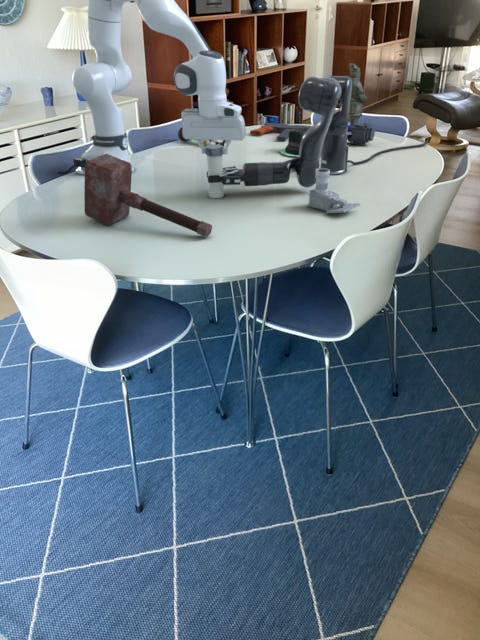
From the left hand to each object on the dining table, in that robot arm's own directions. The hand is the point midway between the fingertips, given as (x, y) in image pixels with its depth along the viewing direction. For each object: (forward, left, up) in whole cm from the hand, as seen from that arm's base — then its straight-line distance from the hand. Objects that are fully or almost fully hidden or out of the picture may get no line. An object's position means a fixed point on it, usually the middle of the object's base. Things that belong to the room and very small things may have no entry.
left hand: (214, 153), depth 180 cm
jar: (0, 0, -14) cm, 14 cm away
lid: (0, 0, +2) cm, 2 cm away
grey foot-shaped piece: (+40, -4, -14) cm, 42 cm away
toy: (+33, +85, -14) cm, 93 cm away
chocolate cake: (+15, +65, -14) cm, 68 cm away
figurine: (-34, +68, -14) cm, 77 cm away
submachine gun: (-1, +94, -14) cm, 95 cm away
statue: (+28, +112, -14) cm, 116 cm away
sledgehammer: (-8, -33, -14) cm, 37 cm away
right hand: (-2, -1, -8) cm, 8 cm away
